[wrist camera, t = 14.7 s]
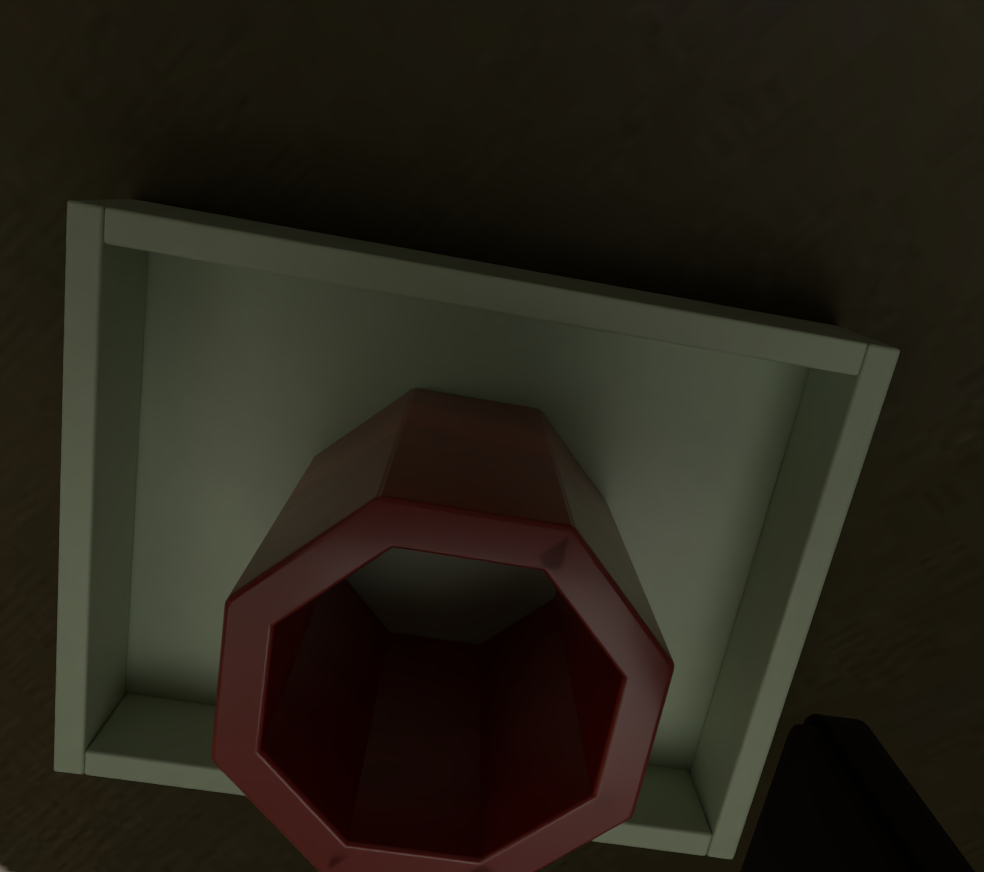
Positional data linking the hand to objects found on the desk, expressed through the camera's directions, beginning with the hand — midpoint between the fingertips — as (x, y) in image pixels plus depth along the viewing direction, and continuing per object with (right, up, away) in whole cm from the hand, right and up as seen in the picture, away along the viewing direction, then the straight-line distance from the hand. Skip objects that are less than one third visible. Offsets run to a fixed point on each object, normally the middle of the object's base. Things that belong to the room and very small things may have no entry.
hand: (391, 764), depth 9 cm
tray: (0, +2, +8) cm, 8 cm away
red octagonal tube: (0, +2, +8) cm, 8 cm away
